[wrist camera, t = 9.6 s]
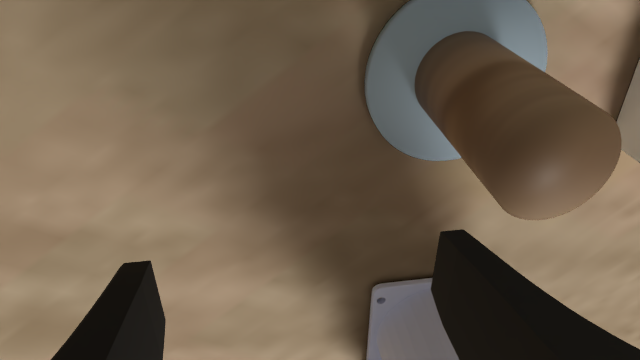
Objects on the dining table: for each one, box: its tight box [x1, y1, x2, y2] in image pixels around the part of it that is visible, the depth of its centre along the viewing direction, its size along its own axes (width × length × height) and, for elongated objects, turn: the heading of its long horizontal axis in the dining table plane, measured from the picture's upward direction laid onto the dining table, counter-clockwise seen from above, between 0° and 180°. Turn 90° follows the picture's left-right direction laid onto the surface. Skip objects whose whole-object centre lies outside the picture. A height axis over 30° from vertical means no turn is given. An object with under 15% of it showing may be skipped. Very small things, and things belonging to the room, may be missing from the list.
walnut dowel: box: [414, 31, 622, 220], centre depth 18 cm, size 4×4×8 cm
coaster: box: [364, 0, 547, 161], centre depth 21 cm, size 8×8×1 cm
